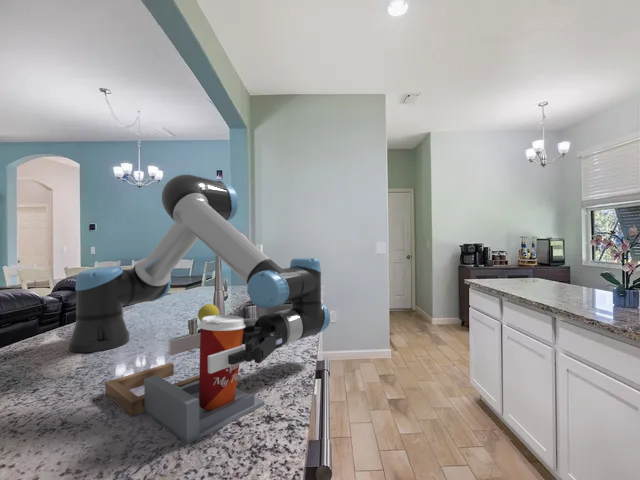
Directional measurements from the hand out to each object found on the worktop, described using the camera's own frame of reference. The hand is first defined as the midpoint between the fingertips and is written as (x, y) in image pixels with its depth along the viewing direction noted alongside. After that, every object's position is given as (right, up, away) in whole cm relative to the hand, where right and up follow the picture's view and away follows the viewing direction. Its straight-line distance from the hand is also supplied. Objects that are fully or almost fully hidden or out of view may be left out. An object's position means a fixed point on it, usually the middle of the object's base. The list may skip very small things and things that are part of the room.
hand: (187, 355), depth 56 cm
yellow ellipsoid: (-14, -11, +51) cm, 54 cm away
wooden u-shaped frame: (-11, -11, +10) cm, 18 cm away
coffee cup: (+5, -9, +1) cm, 10 cm away
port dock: (+2, -10, +2) cm, 11 cm away
